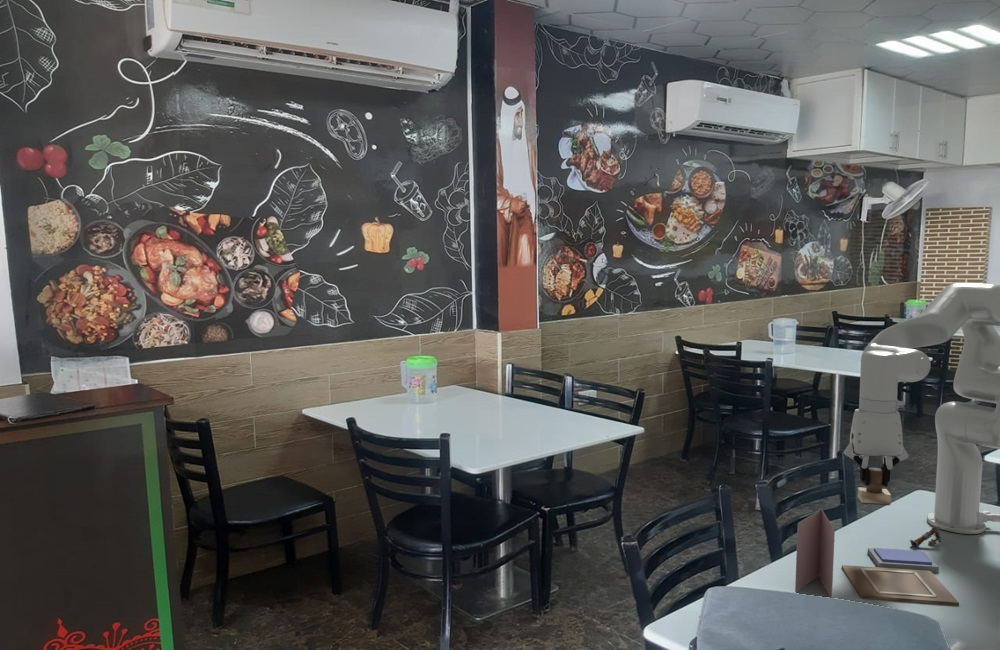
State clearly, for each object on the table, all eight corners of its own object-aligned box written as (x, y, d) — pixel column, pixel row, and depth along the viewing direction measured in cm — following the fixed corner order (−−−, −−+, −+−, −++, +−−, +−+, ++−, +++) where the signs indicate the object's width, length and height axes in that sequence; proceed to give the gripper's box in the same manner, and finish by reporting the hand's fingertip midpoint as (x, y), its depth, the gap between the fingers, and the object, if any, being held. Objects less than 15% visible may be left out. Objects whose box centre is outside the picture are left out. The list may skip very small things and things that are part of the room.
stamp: (885, 499, 164) (887, 467, 163) (890, 505, 160) (892, 473, 160) (857, 497, 166) (858, 466, 165) (861, 503, 162) (862, 471, 161)
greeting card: (814, 574, 155) (817, 507, 154) (850, 585, 150) (853, 516, 148) (791, 591, 147) (793, 522, 146) (827, 604, 142) (830, 532, 140)
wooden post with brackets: (946, 541, 169) (941, 525, 168) (921, 558, 168) (915, 542, 167) (940, 538, 171) (935, 522, 170) (914, 555, 170) (909, 539, 169)
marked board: (930, 573, 155) (930, 570, 155) (959, 605, 141) (959, 601, 141) (841, 567, 158) (841, 564, 158) (861, 598, 144) (861, 594, 144)
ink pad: (923, 556, 163) (924, 549, 163) (938, 572, 155) (938, 564, 155) (867, 552, 165) (867, 545, 165) (879, 568, 158) (879, 560, 157)
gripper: (912, 402, 162) (908, 480, 165) (834, 400, 166) (832, 477, 168) (924, 410, 155) (920, 492, 157) (842, 408, 159) (839, 488, 161)
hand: (874, 483), depth 163 cm, fingers closed on stamp, 3 cm apart
